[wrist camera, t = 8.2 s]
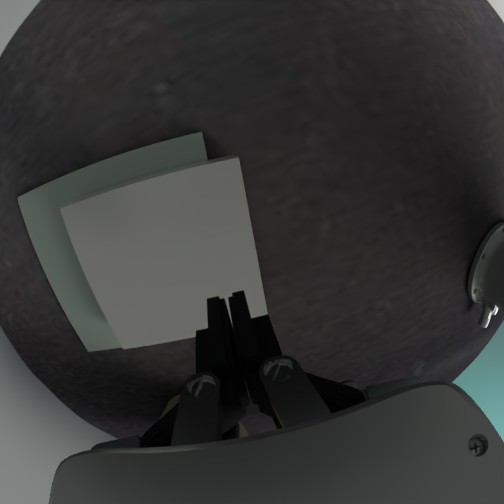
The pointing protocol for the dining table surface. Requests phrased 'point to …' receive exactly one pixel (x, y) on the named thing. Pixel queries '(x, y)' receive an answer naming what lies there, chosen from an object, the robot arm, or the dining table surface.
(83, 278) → the mat
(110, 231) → the tile
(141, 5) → the dining table surface
